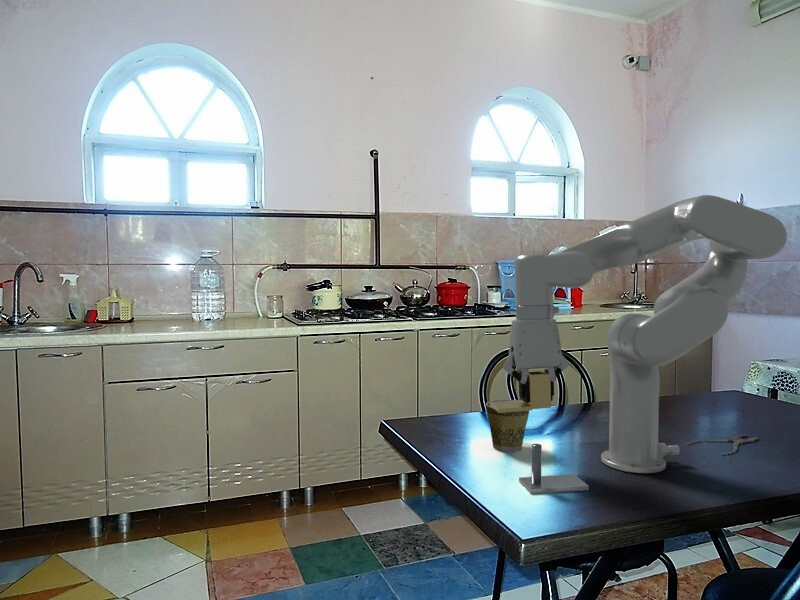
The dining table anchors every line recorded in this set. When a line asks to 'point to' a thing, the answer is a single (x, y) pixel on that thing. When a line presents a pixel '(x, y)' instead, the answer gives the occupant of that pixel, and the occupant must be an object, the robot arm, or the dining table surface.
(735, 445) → the pliers
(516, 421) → the ceramic cup
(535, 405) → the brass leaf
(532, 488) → the steel leaf with pin
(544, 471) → the dining table surface
